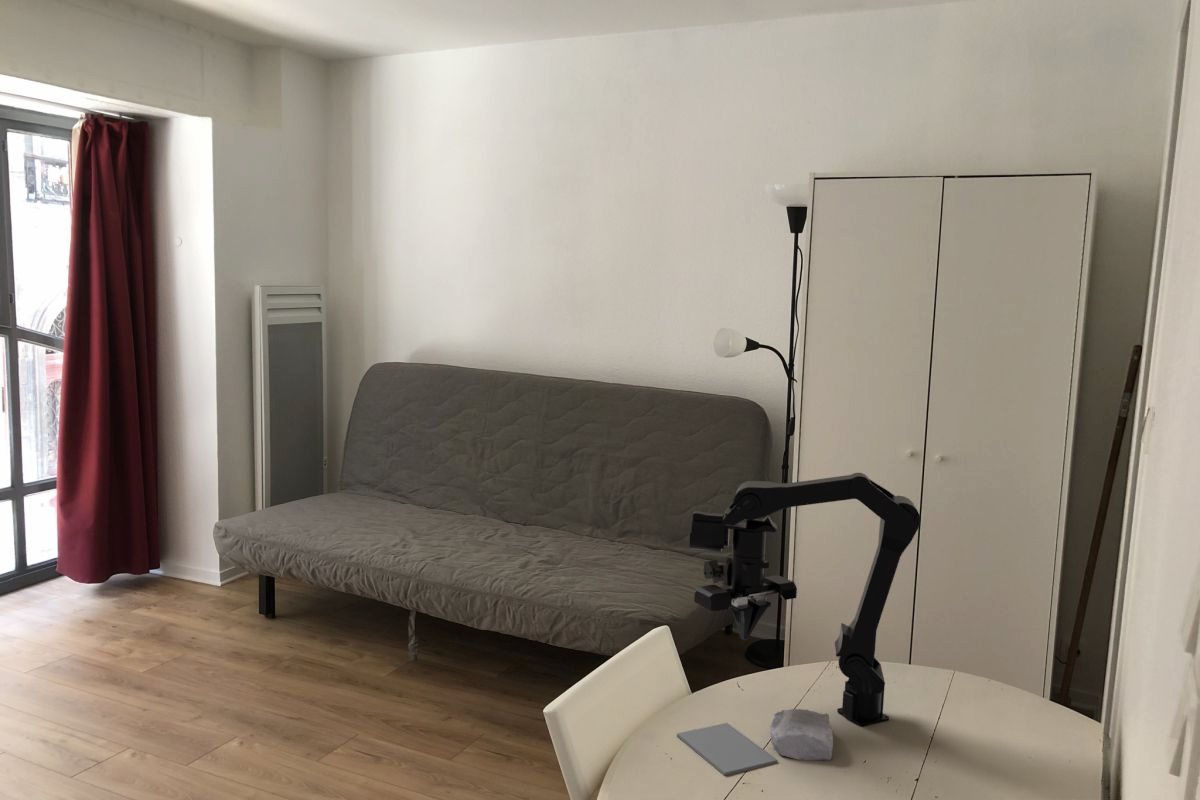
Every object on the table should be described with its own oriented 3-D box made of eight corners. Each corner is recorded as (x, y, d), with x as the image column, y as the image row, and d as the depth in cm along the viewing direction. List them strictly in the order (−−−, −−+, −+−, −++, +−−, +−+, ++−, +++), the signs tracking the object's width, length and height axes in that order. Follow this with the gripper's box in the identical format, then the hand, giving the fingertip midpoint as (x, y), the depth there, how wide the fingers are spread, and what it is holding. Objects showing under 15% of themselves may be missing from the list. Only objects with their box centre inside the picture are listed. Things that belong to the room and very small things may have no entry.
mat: (726, 725, 161) (727, 722, 161) (777, 762, 149) (777, 759, 149) (676, 736, 157) (676, 733, 157) (724, 775, 145) (724, 772, 144)
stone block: (774, 767, 150) (838, 762, 149) (770, 738, 150) (834, 732, 149) (771, 735, 162) (830, 730, 161) (767, 708, 162) (826, 703, 161)
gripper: (762, 537, 178) (758, 617, 180) (678, 547, 170) (675, 631, 171) (801, 552, 169) (796, 637, 170) (714, 564, 160) (710, 653, 162)
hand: (744, 639), depth 169 cm, fingers closed
